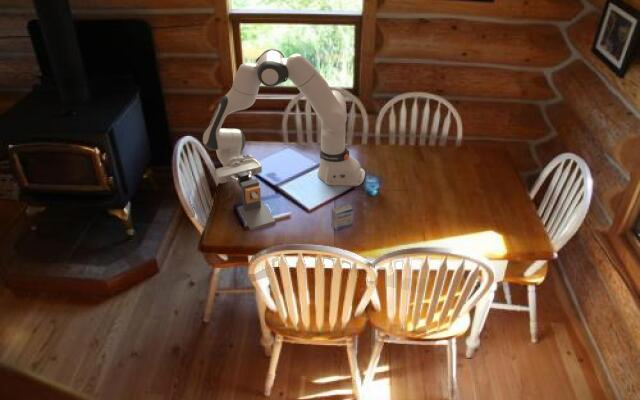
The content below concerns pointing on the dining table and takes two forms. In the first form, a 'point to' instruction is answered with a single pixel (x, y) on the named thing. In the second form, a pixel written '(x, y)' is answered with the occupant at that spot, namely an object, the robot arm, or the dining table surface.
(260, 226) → the bearing stand
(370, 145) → the dining table surface
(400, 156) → the dining table surface
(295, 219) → the dining table surface
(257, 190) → the spacer
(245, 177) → the shaft
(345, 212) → the medicine box
